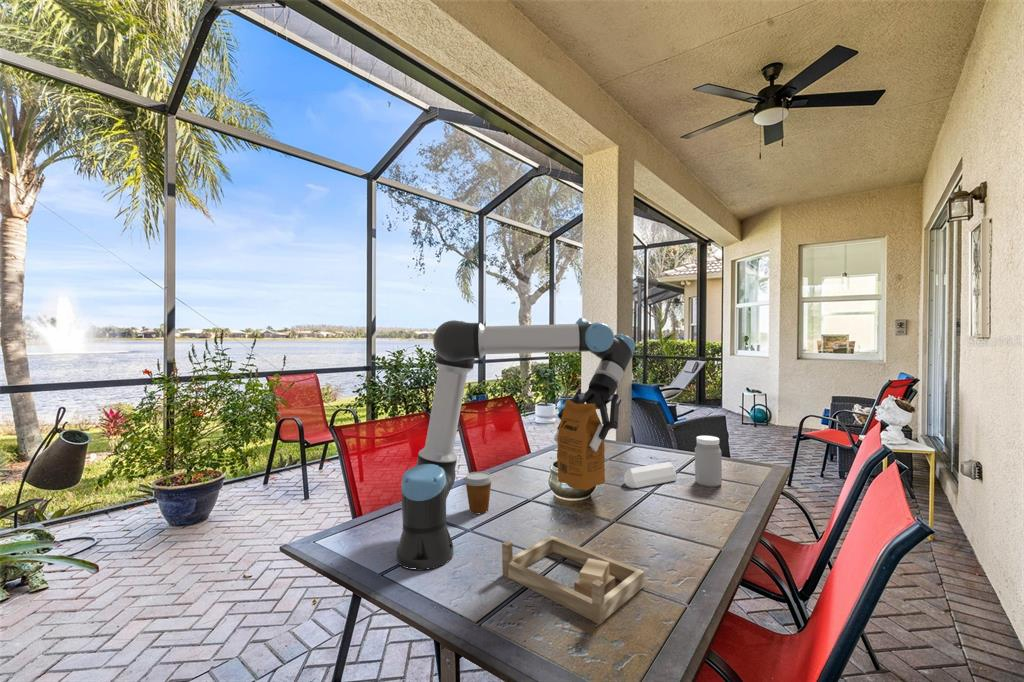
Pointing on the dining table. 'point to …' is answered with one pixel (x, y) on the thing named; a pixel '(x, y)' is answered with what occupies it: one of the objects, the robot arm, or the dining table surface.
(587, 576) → the offcut upper
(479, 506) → the disposable coffee cup
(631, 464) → the dining table surface
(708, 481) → the jar
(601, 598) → the rack
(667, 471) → the white triangular prism
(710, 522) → the dining table surface
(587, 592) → the offcut lower
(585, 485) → the coffee package
